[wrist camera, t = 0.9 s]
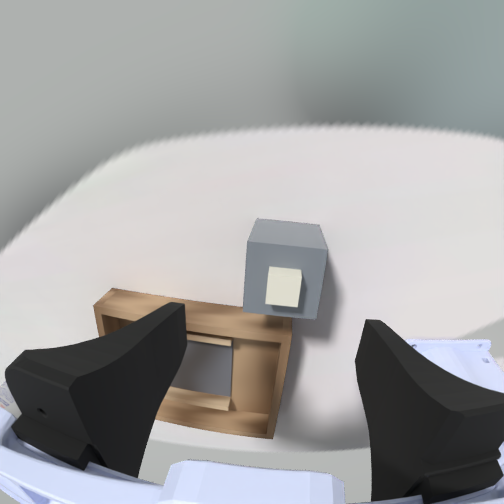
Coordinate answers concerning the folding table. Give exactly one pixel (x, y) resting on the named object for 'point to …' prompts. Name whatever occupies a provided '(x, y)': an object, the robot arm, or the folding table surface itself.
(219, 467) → the robot arm
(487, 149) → the folding table surface
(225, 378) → the caddy
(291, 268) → the plug
